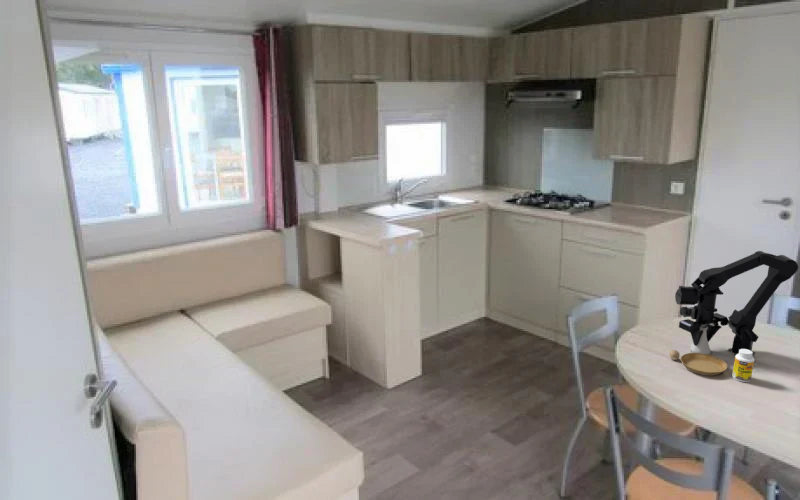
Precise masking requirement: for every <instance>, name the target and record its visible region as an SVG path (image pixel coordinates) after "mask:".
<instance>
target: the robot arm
mask: <svg viewBox="0 0 800 500" xmlns="http://www.w3.org/2000/svg"><path fill="white" fill-rule="evenodd" d="M798 265H799V264H798V262H797V261H796V260H794V259H792V258H790V257H789V256H786V255H784V254H779V255H776V254H772V253H769V252H768V253H767V252H764V251H763V250H758V251H755V252H754V253H752V254H751V255H747V256H745V257H742V258H740V259H738V260H736V261H734V262H733V261H732V263H728V264H726V265H724V266H720V267H711V268H708V269H704V270H702V271H700V273H699V275H698V277H697V278H695V280H694V281H693V282H692V283H691V284H690V285H691V286H687V285H686V286H684V285H679V286H678V289H677V290H676V291H675V294H674V295H675V297H674V298H675V302H676V305H679V306H680V305H684V306H681V307H680V309H679V314H680V316H683V318H686V319H683V320H681V321H679V322H678V328H679V329H681V330H683V331H686V332H688V333H690V335H691V339H692V343H694V345H695V346H697V345H698V343H699V340H700V338H701V336H702V334H703V331H702V330H701V326H703V325H705V326H707V327H708V329H707V331H706V334H707V340H708V343H709V342H710V341H711V339H713V337H714V336H715V335H716V334H717V333H718V331H719V330H720V329H722V327H724V326H728V327H729V328H730V329H731V332H732V333H733V334H734V336H733V341H732V347H731V348H728V349H727V350H728V351H729V352H731V353H733V354H735V355H737V354H739V350H740V349H748V350H750V351H752V350H753V345H754V343H757V341H758V340H759V336H758V335H757V333H755V332H754V331H753V330H754V328H755V326H756V322H757V321H756V320H757V317H758V315H759V314H760V312H761V311H762V310H763V308H764V307H765V305H766V304H767V303H768V301H769V300H770V299H771V298H772V296H773V295H774V293H776V290H778V288H779V287H780V285H781V284H782V283H784V282H786V281H789V280H790V279H791V278H792V277H793V276H794V275H795V274H796V273H797V272H798V270H799V266H798ZM760 266H767V267H768V270H767V275H766V277H765V278H764V280H763V281H762V282H761V284H760V285H759V286H758V288H757V290H756V291H755V292H754V293H753V294H752V297H750V299H749V300H748V302H747V303H746V305H744V307H743V308H741V309H740V310H737V309H734V310H733V312H732V313H731V315H729V316H728V317H727V316H725V315H723V314H720V313H718V308H716V302H717V296H718V295H720V296H721V295H724V292H723V291H722V290H721V289H720V287H722V286H723V285H725V284H726V283H727V282H728V281H729V280H730V279H732V278H735V277H737V276H738V275H742V274H744V273H747V272H749V271H751V270H754V269H756V268H759V267H760ZM702 285H703V286H702ZM685 305H686V306H685ZM690 305H691V306H690ZM688 306H689V307H688ZM687 318H688V319H687ZM689 318H691V319H689ZM694 320H695V321H694ZM719 323H720V325H719ZM752 352H753V355H755V354H756V352H755V351H752Z"/></svg>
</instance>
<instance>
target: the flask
mask: <svg viewBox="0 0 800 500" xmlns="http://www.w3.org/2000/svg"><path fill="white" fill-rule="evenodd" d="M707 329H708V327H707V326H705V325H703V326H701V330H702V331H703V334H702V336H701V338H700V340H699V343H698V345H697V346H695V345H694V343H693V342H692V343H691V344H690V346H689V351H690V352H691V353H703V354H708V355H711V348H710V344H709V342H708V340H707V334H706V331H707Z"/></svg>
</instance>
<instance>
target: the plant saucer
mask: <svg viewBox="0 0 800 500" xmlns="http://www.w3.org/2000/svg"><path fill="white" fill-rule="evenodd" d="M679 359H680V362H681V363H682V365H683V366H684V367H685V368H686V370H689V371H690V372H692V373H695V374H697V375H702V376H717V375H719V374H721V373H723V372H725V371H726V370H727V369H728V364H727V362H725V361H724V360H723V359H721V358H719V357H717V356H714V355H712V354H703V353H693V352H689V353H684V354H682V355H681V356H680V357H679Z"/></svg>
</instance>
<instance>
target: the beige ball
mask: <svg viewBox="0 0 800 500" xmlns="http://www.w3.org/2000/svg"><path fill="white" fill-rule="evenodd" d="M680 355H681V354H680V352H679V351H678V350H675V349H673V350H671V351H669V352H668V357H669V358H670V360H673V361H677V360H679V359H680V358H681V356H680Z"/></svg>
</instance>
